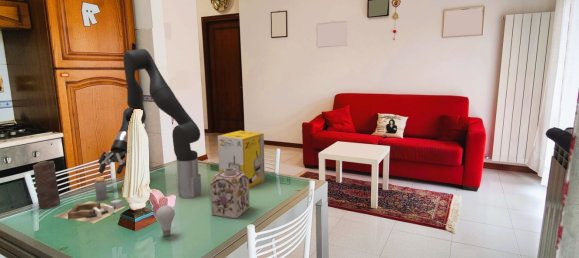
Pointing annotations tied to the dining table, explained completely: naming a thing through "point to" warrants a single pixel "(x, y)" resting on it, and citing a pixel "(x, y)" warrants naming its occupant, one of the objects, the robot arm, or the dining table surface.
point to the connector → (100, 189)
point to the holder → (78, 213)
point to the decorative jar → (229, 193)
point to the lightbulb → (165, 218)
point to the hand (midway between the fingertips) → (109, 173)
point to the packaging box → (243, 154)
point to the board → (90, 220)
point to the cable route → (106, 209)
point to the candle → (46, 184)
